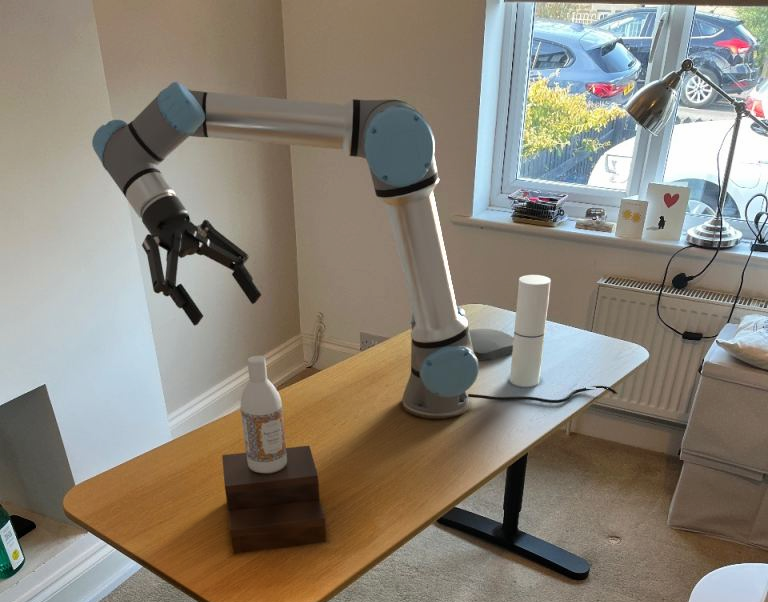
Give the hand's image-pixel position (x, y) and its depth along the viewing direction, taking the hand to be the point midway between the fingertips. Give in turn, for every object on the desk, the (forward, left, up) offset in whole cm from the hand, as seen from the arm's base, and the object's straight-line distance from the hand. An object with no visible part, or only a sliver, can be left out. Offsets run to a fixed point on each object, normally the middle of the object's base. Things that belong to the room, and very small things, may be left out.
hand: (228, 310), depth 133 cm
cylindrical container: (-70, -30, -34) cm, 83 cm away
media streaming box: (-67, -52, -34) cm, 91 cm away
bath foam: (-3, +14, -24) cm, 28 cm away
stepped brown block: (-4, +17, -34) cm, 38 cm away
